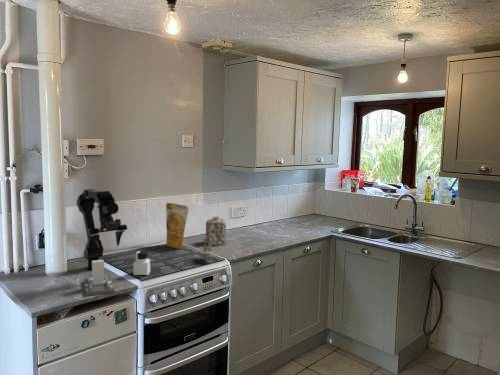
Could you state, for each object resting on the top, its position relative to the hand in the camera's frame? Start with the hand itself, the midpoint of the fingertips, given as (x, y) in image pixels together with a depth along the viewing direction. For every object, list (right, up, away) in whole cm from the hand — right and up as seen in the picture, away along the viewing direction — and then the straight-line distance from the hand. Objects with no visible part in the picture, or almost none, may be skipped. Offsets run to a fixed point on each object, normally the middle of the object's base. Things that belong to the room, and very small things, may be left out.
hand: (109, 247), depth 202 cm
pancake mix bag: (+21, -9, +64) cm, 68 cm away
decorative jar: (+47, -8, +75) cm, 88 cm away
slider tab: (-2, -16, -9) cm, 18 cm away
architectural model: (+45, -14, +36) cm, 59 cm away
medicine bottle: (+14, -16, +10) cm, 23 cm away
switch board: (-2, -18, -9) cm, 20 cm away
